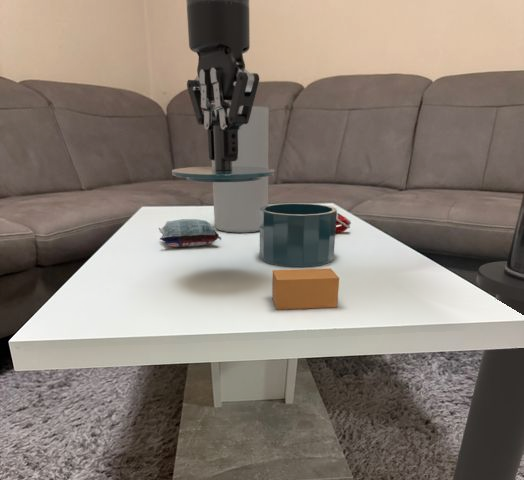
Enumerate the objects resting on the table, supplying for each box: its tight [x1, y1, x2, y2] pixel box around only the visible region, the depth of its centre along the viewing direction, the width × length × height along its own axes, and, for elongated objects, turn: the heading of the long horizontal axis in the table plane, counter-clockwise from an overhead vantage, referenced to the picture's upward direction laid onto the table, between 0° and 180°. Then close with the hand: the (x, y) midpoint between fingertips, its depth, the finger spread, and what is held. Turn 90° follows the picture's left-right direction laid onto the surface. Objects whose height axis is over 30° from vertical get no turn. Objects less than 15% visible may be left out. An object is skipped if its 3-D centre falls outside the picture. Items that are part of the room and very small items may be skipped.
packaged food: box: [157, 218, 222, 248], centre depth 91 cm, size 9×12×5 cm
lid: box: [171, 126, 276, 183], centre depth 62 cm, size 14×14×7 cm
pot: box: [259, 202, 338, 268], centre depth 81 cm, size 13×13×8 cm
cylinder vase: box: [211, 105, 270, 234], centre depth 101 cm, size 12×12×25 cm
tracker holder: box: [335, 212, 352, 234], centre depth 101 cm, size 12×4×10 cm
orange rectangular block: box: [271, 267, 340, 311], centre depth 60 cm, size 8×4×4 cm, turn 96°
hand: (223, 159), depth 62 cm, fingers closed on lid, 2 cm apart
